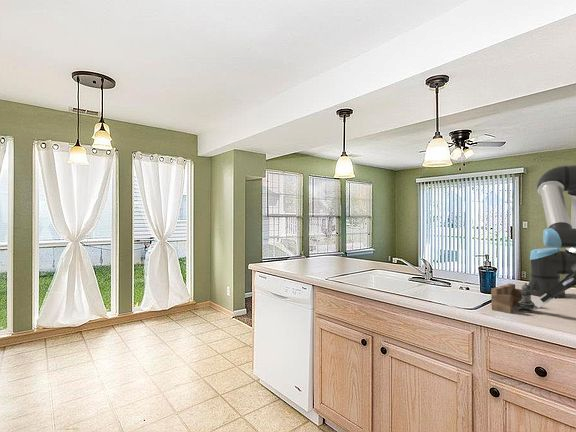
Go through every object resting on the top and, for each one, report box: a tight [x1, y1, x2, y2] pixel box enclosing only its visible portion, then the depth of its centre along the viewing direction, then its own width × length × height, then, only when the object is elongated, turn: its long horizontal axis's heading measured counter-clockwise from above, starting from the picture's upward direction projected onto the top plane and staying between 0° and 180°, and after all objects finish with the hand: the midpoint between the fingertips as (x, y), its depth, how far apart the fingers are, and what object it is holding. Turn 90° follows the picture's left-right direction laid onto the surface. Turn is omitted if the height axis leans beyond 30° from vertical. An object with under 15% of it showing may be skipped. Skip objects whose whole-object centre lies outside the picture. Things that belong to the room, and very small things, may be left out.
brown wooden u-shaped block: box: [490, 283, 522, 314], centre depth 139 cm, size 18×7×9 cm, turn 123°
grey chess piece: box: [518, 282, 536, 314], centre depth 134 cm, size 6×6×12 cm
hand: (536, 304), depth 131 cm, fingers closed
